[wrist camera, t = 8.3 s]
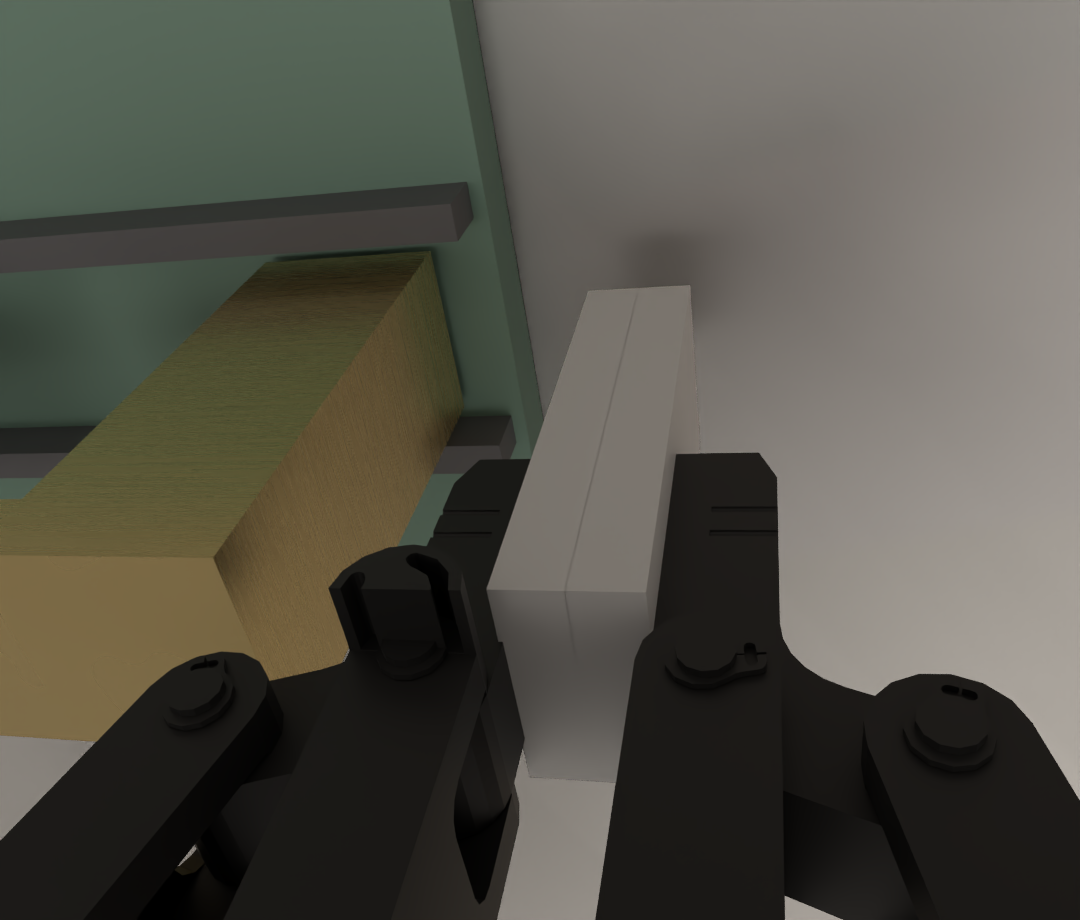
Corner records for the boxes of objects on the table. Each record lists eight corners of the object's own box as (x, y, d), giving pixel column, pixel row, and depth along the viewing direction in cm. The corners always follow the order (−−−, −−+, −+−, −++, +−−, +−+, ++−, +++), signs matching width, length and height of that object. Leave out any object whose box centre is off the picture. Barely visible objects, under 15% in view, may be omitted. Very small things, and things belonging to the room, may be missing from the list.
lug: (151, 415, 19) (-149, 725, 13) (90, 274, 18) (-286, 551, 11) (464, 406, 18) (296, 754, 11) (430, 251, 16) (212, 558, 10)
